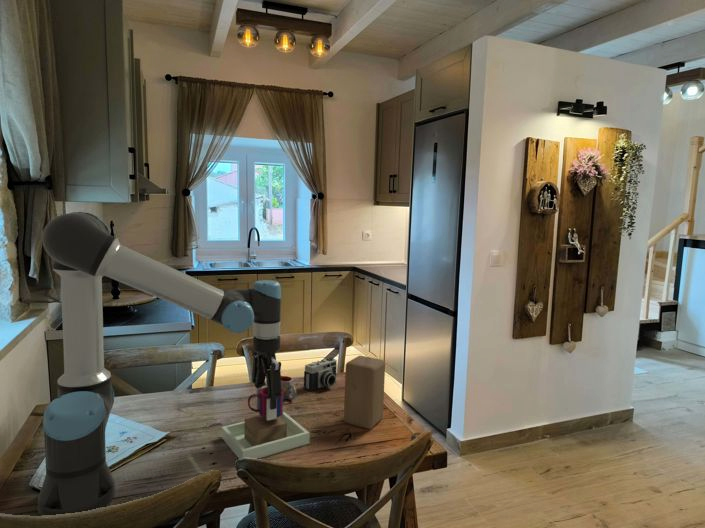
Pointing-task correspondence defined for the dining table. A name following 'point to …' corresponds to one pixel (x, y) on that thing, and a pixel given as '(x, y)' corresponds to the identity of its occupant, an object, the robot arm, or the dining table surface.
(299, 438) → the tray
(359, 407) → the wooden block
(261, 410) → the cup
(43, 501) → the robot arm
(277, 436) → the walnut block
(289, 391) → the mug
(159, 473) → the dining table surface
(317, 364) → the camera
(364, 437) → the dining table surface
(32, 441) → the dining table surface
